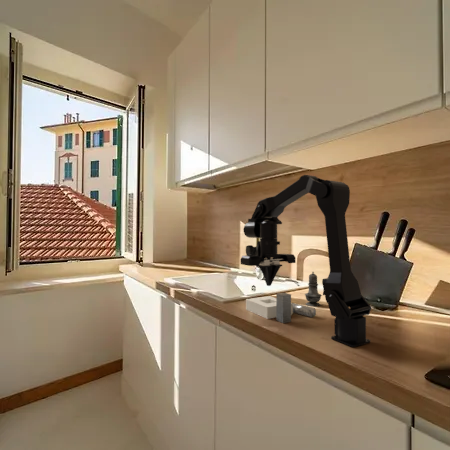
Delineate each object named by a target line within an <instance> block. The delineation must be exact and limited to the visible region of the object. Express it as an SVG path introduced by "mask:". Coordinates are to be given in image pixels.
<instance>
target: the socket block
mask: <svg viewBox="0 0 450 450" xmlns="http://www.w3.org/2000/svg"><path fill="white" fill-rule="evenodd" d="M293 303H294V302H291V316H292V315H293V314H294V313H293ZM245 311H248V312H251V313H252V314H255V315H258V316H260V317H262V318H264V319H267V320H269V319H274V318H276V297H274V296H270V295H268V296H267V295H266V296H261V297H252V298H246V299H245Z"/></svg>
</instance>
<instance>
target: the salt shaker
mask: <svg viewBox="0 0 450 450" xmlns="http://www.w3.org/2000/svg"><path fill="white" fill-rule="evenodd" d="M311 272H312V273H311V274H309V276H308V283H307V285H308V291H307V293H304V296H305V299H306V300H307V302H306V303H305V306H308V307H312V308H314V307H315V308H316V307H317V308H318V307H321V306H322V304H320V300H321V298H322V296H323V294H320V293H319V292H318V286H319V284H318V276H317V274H315V272H314V271H311Z"/></svg>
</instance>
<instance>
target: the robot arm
mask: <svg viewBox="0 0 450 450" xmlns="http://www.w3.org/2000/svg"><path fill="white" fill-rule="evenodd" d="M350 193H351V191H350V187H349V185H348V184H347V183H345V182H342V181H338V180H337V181H336V180H328V179H322V178H319V177H318V176H316V175H311V174H309V175H308V174H303V175H301V176H299V178H298V179H297V180H296V181H294V182H293V183H292V184H290V185H289V186H287V187H286V188H284V189H283V190H281V191H280V192H278V193H277V194H275V195H273V196H269V197H265V198H263V199H260V200H259V201H258V202H257V204H256V206H255V209H254V211H253V214H252V215H251V218H248V219H247V223H245V225H244V226H243V234H244V236H246V237H247V238H250V239H251V238H252V239H259V240H258V241H257V242H256V246H253V245H252V244H251V245H249V244H248V245H246V246H245V254H246V255H242V256H241V257H240V265H244V266H249V267H254V266H255V267H258V269H260V271H261V273H262V275H263V278H264V281H265V284H266V286H268V287H271V286H272V284H273V282H274V280H275V278H276V275H277V273H278V272H279V270H280V268H281V267H283V264H280V263H281V262H286V263H288V264H296V256H295V255H294V254H291V253H278V246H279V245H281V241H278V225H282V224H283V222H282V220H280V219H279V216H281V214H283V212H284V211H285V208H286V207H287V206H289V205H291V204H293V203H294V202H296V201H297V200H299V199H301V198H302V197H303V196H305V195H307V194H311V195H313V196H314V197H315V199H316V203H317V206H318V207H319V209H320V211H321V213H322V215H323V216H324V222H325V232H326V234H325V235H326V242H327V243H326V244H327V252H328V262H329V263H328V264H329V274H328V277H326V278H323V279H321V280H322V283H321V284H322V287H323V288H322V289H323V291H322V296H324V298H325V301H326V303H327V305H328V309H329V312H330V315H331V316H332V317H335V318H334V335H332V336H330V337H331V340H334V341H337V342H339V343H341V344H344V345H347V346H349V347H351V348H355V347H359V346H362V345H366V344H369V343H371V339H368V338H367V317H366V316H368V315H370V313H371V310H372V306H371V305H370V303H369V302H368V301H367V299H365V297H364V295H362V291H361V288H360V285H359V282H358V279H357V278H356V276H355V275H354V273H353V272H352V269H351V267H352V266H351V261H350V260H351V259H350V250H349V240H348V231H347V223H346V222H347V221H346V213H347V210H348V208H349V205H350V196H351V195H350Z"/></svg>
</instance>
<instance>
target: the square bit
mask: <svg viewBox="0 0 450 450" xmlns="http://www.w3.org/2000/svg"><path fill="white" fill-rule="evenodd" d="M275 294H276V296H275V298H276V317H275V318H276V321H277V322H279V323H282V324H286V323H291V322H292V315H291V303H292V294H291V293H287V292H278V293H275Z"/></svg>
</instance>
